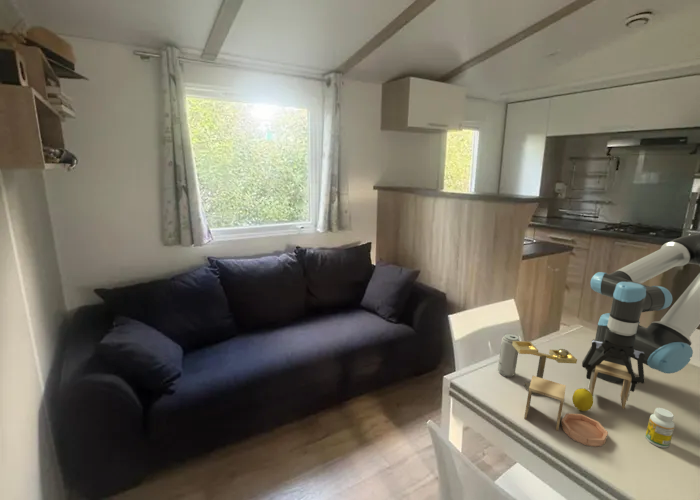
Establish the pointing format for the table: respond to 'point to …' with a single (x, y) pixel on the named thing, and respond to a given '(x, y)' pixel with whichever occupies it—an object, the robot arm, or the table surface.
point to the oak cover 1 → (546, 393)
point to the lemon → (582, 399)
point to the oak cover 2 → (615, 371)
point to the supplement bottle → (660, 428)
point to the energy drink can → (508, 356)
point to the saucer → (584, 430)
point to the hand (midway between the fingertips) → (607, 392)
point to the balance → (543, 357)
